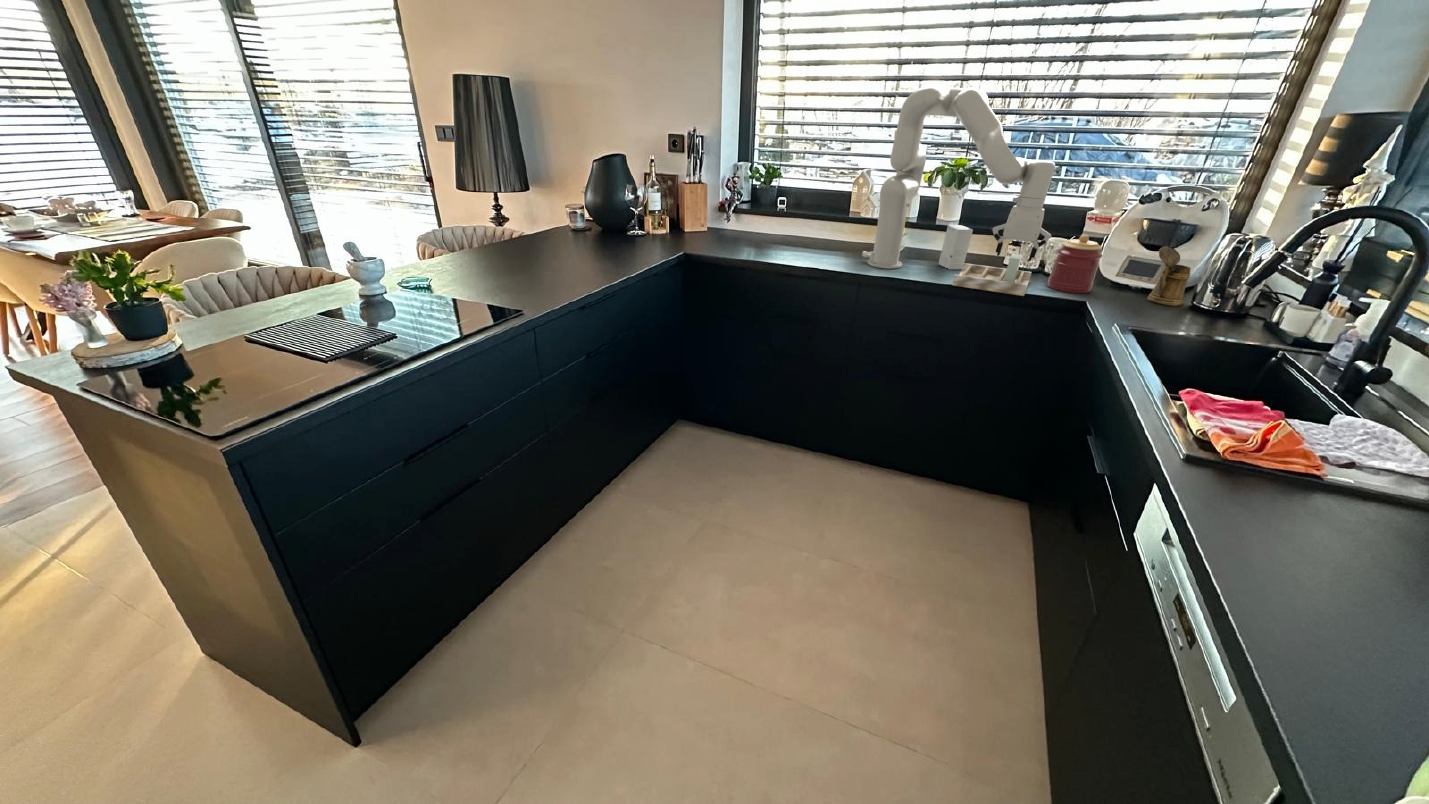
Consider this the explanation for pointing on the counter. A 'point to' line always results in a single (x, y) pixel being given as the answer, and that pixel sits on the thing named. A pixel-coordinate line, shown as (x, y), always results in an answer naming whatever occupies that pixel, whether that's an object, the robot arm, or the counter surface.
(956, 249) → the skincare box
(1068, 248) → the canister
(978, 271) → the divided tray
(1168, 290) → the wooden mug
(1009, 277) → the grey-green flat block
